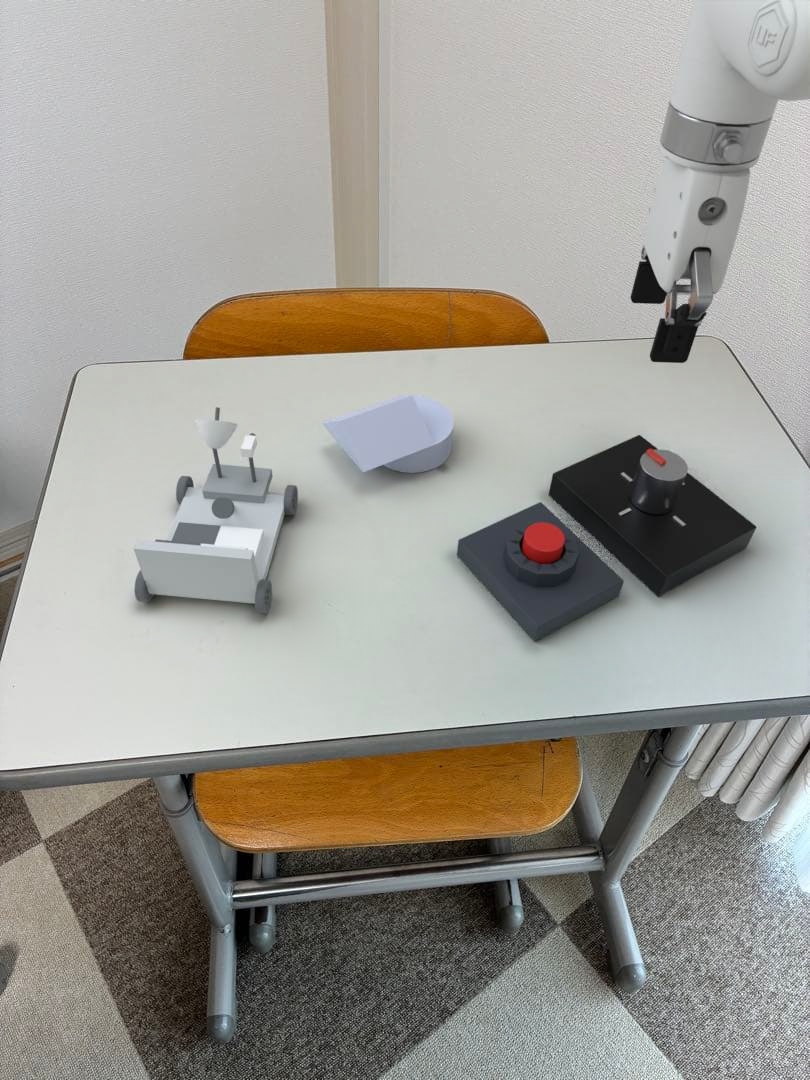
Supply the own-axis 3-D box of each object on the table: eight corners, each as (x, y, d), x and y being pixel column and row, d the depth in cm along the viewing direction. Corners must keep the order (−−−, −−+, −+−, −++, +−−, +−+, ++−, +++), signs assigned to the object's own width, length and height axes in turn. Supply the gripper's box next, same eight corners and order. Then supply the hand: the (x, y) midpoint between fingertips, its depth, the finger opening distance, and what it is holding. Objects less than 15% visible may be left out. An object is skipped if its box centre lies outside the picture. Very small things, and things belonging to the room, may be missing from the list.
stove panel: (746, 547, 78) (757, 525, 76) (658, 597, 74) (667, 575, 71) (633, 455, 87) (640, 433, 85) (548, 494, 83) (552, 472, 80)
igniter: (619, 596, 74) (629, 567, 71) (534, 642, 70) (541, 614, 67) (537, 517, 80) (543, 488, 78) (456, 555, 77) (459, 526, 74)
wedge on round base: (363, 496, 82) (467, 455, 87) (362, 446, 77) (472, 405, 82) (323, 447, 87) (423, 410, 92) (319, 397, 82) (425, 361, 87)
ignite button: (569, 554, 72) (573, 541, 71) (538, 570, 71) (541, 557, 70) (544, 530, 74) (547, 516, 73) (514, 544, 73) (516, 531, 72)
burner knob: (684, 504, 78) (698, 467, 74) (651, 520, 76) (664, 484, 73) (652, 478, 80) (664, 441, 77) (620, 493, 79) (631, 456, 75)
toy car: (177, 398, 76) (296, 407, 76) (194, 474, 84) (303, 483, 83) (112, 533, 64) (253, 545, 64) (138, 608, 71) (266, 620, 71)
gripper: (798, 182, 55) (720, 387, 67) (733, 95, 66) (677, 283, 79) (689, 179, 55) (631, 385, 67) (643, 92, 66) (601, 281, 79)
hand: (656, 330), depth 73 cm, fingers open, 9 cm apart
